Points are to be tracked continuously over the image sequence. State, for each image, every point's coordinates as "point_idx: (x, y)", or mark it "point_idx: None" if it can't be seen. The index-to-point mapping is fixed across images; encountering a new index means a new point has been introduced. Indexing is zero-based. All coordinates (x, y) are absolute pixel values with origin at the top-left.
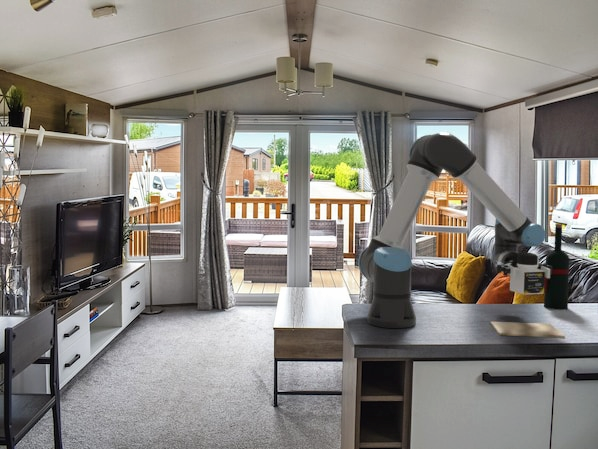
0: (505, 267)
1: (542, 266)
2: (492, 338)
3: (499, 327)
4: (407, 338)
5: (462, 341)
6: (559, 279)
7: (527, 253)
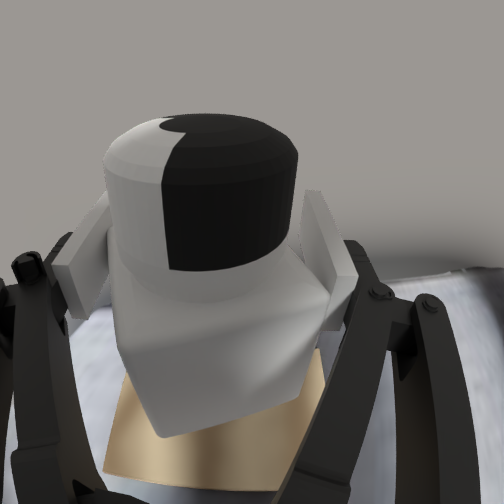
0: (372, 277)
1: (73, 250)
2: None
3: (314, 409)
4: (480, 298)
5: (395, 296)
6: None
7: (216, 117)
